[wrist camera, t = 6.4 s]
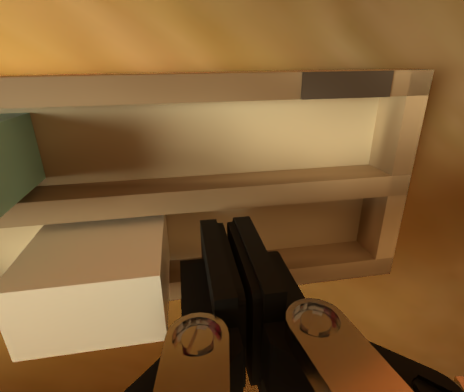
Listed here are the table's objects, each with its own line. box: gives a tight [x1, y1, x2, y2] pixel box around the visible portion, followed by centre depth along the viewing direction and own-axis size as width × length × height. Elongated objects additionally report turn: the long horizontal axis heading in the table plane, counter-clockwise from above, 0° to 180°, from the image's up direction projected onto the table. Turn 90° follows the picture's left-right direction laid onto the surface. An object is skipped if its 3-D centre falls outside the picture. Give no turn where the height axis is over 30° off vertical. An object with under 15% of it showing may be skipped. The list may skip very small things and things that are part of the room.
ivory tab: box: [0, 215, 170, 362], centre depth 10 cm, size 2×4×4 cm, turn 90°
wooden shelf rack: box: [0, 69, 434, 301], centre depth 12 cm, size 8×18×3 cm, turn 91°
